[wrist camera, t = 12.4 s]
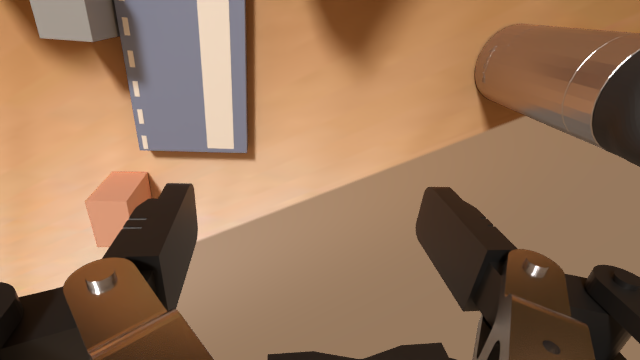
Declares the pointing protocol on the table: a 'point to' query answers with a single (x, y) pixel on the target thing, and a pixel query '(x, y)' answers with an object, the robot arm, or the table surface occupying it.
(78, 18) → the stub grey
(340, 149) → the table surface
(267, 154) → the table surface
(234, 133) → the ticket slab
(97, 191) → the stub terracotta
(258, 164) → the table surface
